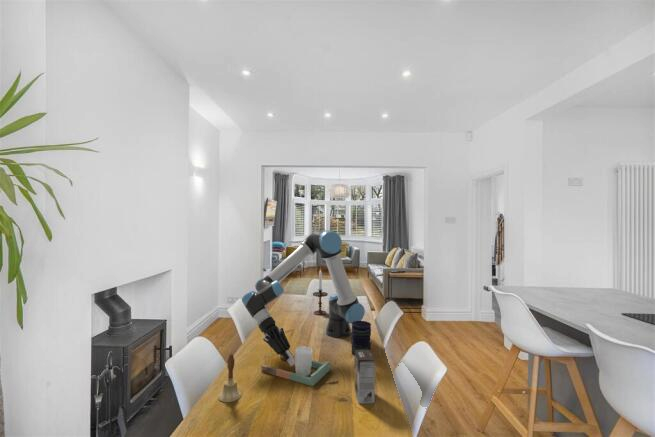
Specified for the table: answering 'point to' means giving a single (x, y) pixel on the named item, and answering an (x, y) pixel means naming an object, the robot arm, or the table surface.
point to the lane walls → (271, 369)
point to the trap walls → (283, 373)
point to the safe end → (313, 378)
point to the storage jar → (361, 336)
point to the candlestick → (320, 295)
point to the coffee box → (364, 376)
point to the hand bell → (230, 384)
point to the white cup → (303, 360)
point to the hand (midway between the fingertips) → (293, 364)
